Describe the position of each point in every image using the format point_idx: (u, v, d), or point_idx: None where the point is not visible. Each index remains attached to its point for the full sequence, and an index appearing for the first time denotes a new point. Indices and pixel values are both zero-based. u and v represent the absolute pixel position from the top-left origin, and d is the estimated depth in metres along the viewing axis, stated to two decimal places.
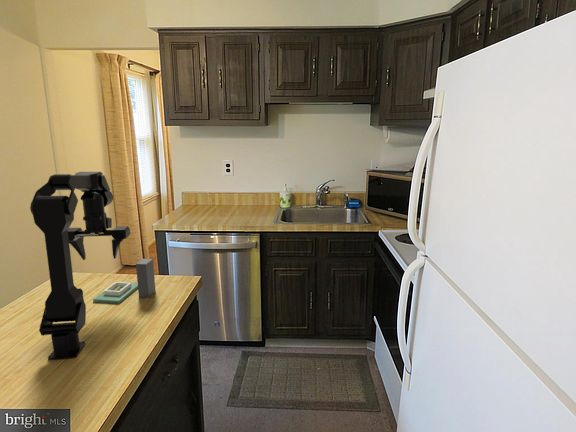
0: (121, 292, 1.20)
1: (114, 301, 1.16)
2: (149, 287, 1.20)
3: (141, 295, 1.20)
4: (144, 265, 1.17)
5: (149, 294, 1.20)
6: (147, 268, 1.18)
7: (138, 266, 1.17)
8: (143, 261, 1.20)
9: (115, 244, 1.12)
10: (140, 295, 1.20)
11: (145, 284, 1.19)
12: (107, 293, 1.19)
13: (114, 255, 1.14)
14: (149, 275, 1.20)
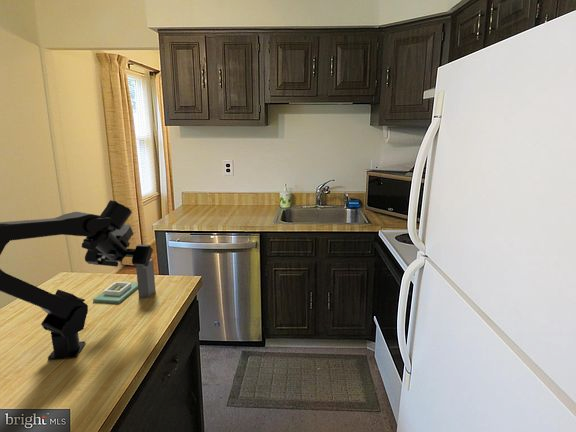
0: (121, 292, 1.20)
1: (114, 301, 1.16)
2: (149, 287, 1.20)
3: (141, 295, 1.20)
4: None
5: (149, 294, 1.20)
6: (147, 268, 1.18)
7: None
8: None
9: None
10: (140, 295, 1.20)
11: (145, 284, 1.19)
12: (107, 293, 1.19)
13: (143, 267, 1.09)
14: (149, 275, 1.20)
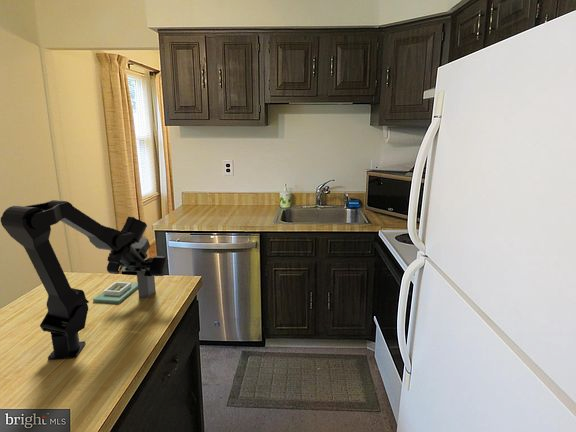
0: (121, 292, 1.20)
1: (114, 301, 1.16)
2: (149, 287, 1.20)
3: (141, 295, 1.20)
4: None
5: (149, 294, 1.20)
6: None
7: None
8: None
9: None
10: (140, 295, 1.20)
11: (145, 284, 1.19)
12: (107, 293, 1.19)
13: None
14: None
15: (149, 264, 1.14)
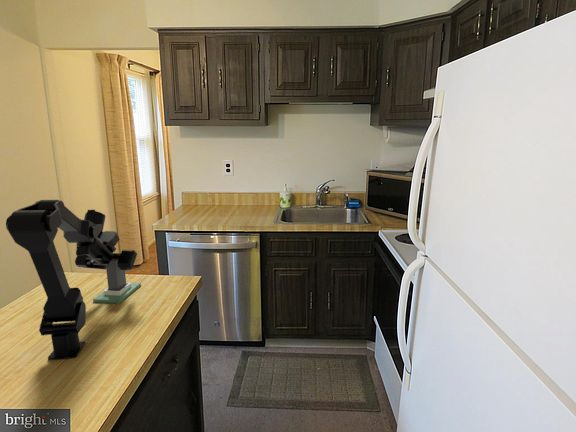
0: (121, 292, 1.20)
1: (114, 301, 1.16)
2: (119, 283, 1.20)
3: None
4: (113, 262, 1.17)
5: (119, 290, 1.20)
6: (117, 265, 1.18)
7: None
8: None
9: None
10: None
11: (115, 281, 1.19)
12: (107, 293, 1.19)
13: (128, 270, 1.20)
14: (119, 272, 1.20)
15: (117, 257, 1.14)
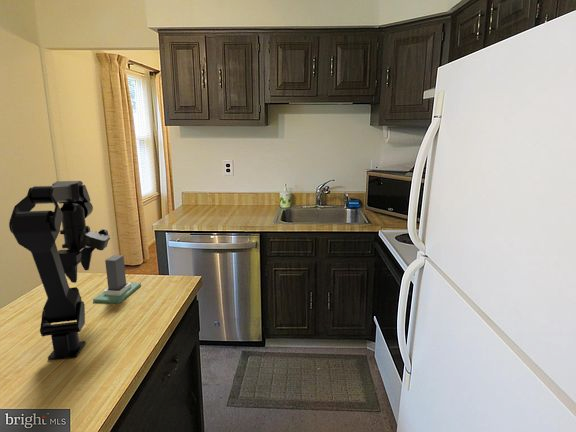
0: (121, 292, 1.20)
1: (114, 301, 1.16)
2: (119, 283, 1.20)
3: None
4: (113, 261, 1.17)
5: (119, 290, 1.20)
6: (117, 265, 1.18)
7: (107, 262, 1.18)
8: (113, 257, 1.20)
9: None
10: None
11: (115, 281, 1.19)
12: (107, 293, 1.19)
13: None
14: (119, 272, 1.20)
15: None
